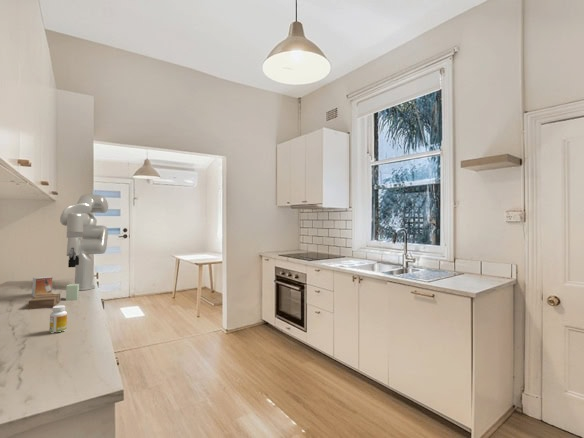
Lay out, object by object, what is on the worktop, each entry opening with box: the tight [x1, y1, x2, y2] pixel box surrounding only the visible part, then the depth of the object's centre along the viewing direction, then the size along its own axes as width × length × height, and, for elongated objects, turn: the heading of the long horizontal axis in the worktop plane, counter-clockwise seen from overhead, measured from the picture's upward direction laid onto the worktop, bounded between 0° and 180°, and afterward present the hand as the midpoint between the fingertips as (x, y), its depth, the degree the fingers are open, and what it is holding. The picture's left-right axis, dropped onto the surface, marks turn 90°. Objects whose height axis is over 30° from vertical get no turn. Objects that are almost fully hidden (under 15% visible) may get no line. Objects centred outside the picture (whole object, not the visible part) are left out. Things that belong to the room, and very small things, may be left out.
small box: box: [31, 275, 53, 298], centre depth 181 cm, size 8×6×10 cm
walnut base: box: [27, 293, 61, 310], centre depth 162 cm, size 14×10×4 cm
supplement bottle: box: [48, 304, 68, 333], centre depth 124 cm, size 5×5×10 cm
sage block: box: [65, 283, 80, 302], centre depth 175 cm, size 5×5×8 cm
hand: (73, 266), depth 175 cm, fingers open, 9 cm apart
